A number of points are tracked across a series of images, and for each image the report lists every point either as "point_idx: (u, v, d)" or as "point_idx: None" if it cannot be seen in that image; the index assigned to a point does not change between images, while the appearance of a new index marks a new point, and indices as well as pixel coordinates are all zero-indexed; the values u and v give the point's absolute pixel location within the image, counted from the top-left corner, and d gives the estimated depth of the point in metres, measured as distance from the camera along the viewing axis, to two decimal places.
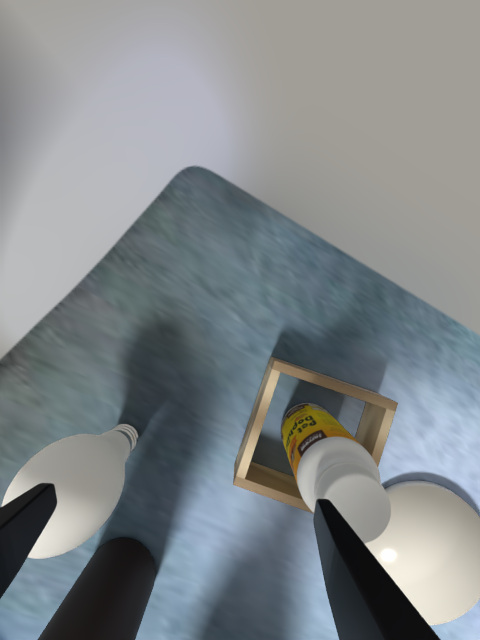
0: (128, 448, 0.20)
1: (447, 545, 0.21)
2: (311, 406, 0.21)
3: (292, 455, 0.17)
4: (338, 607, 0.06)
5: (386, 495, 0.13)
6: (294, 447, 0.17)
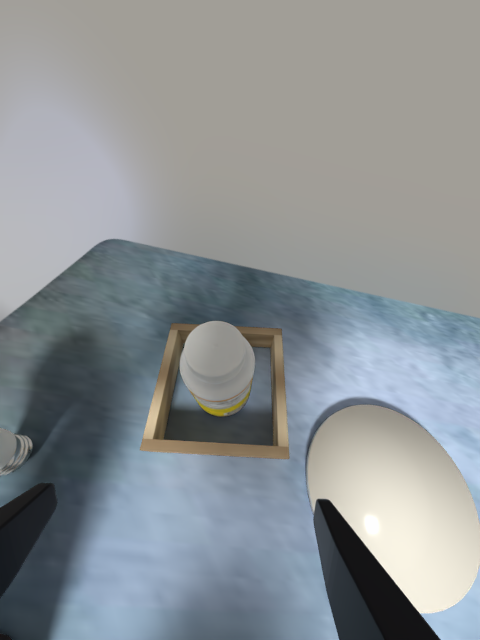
0: (12, 442, 0.17)
1: (405, 466, 0.19)
2: None
3: None
4: (338, 607, 0.06)
5: (236, 329, 0.15)
6: None
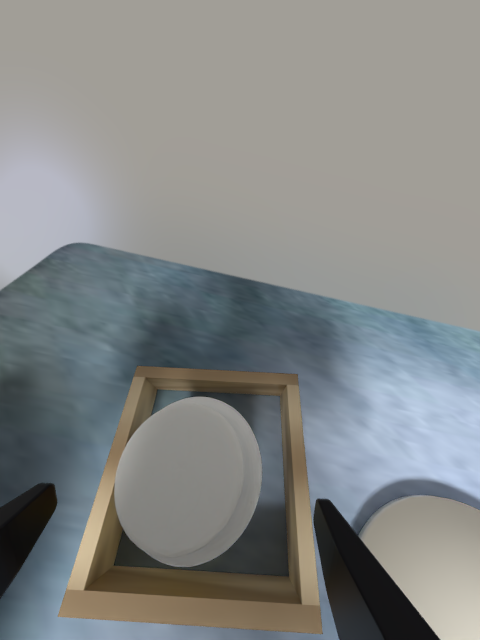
0: None
1: None
2: None
3: None
4: (338, 607, 0.06)
5: (225, 424, 0.07)
6: None
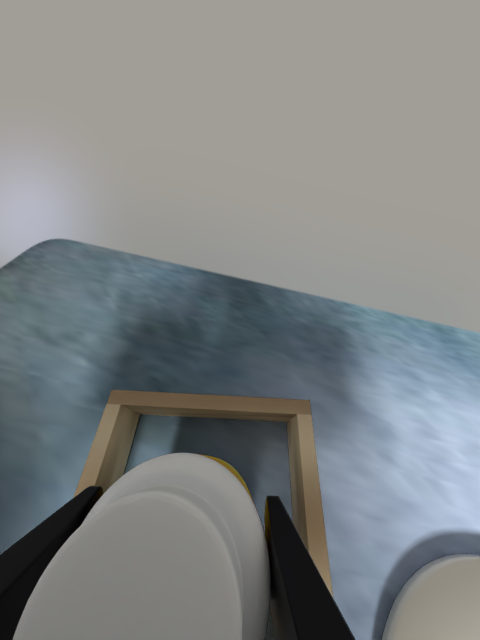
0: None
1: None
2: None
3: None
4: (273, 603, 0.06)
5: (212, 536, 0.04)
6: None
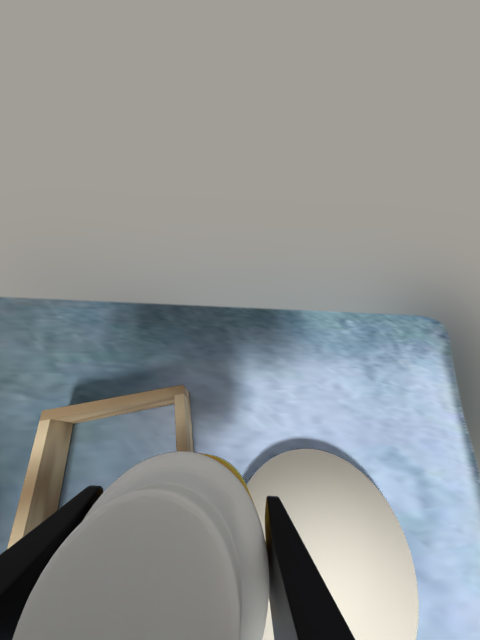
0: None
1: (335, 518, 0.17)
2: None
3: None
4: (273, 603, 0.06)
5: (210, 534, 0.04)
6: None
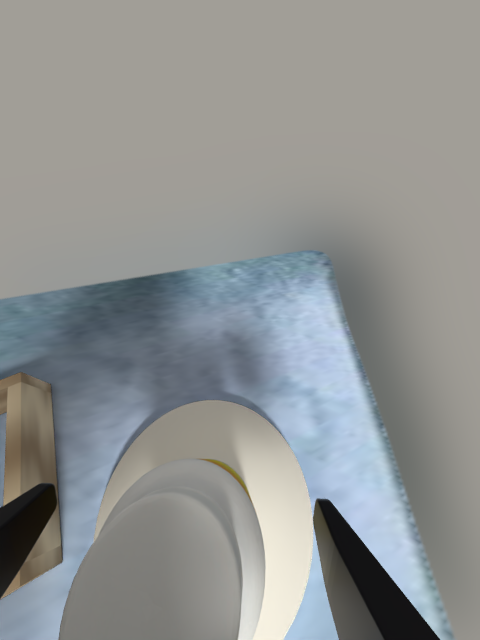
0: None
1: None
2: None
3: None
4: (338, 607, 0.06)
5: (217, 529, 0.06)
6: None
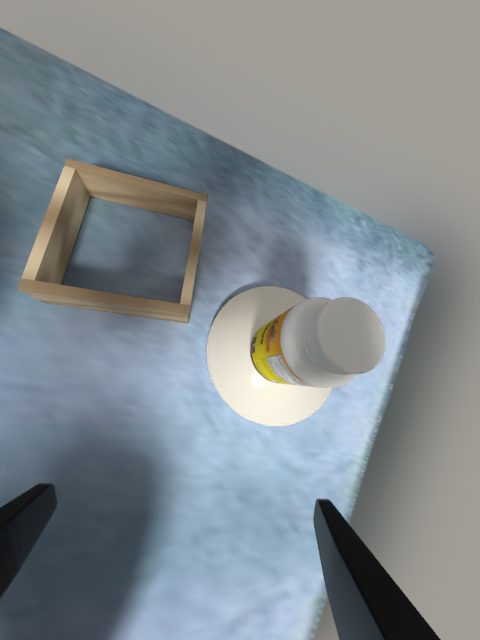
0: None
1: None
2: None
3: (273, 325, 0.15)
4: (338, 607, 0.06)
5: (383, 329, 0.12)
6: (278, 318, 0.15)
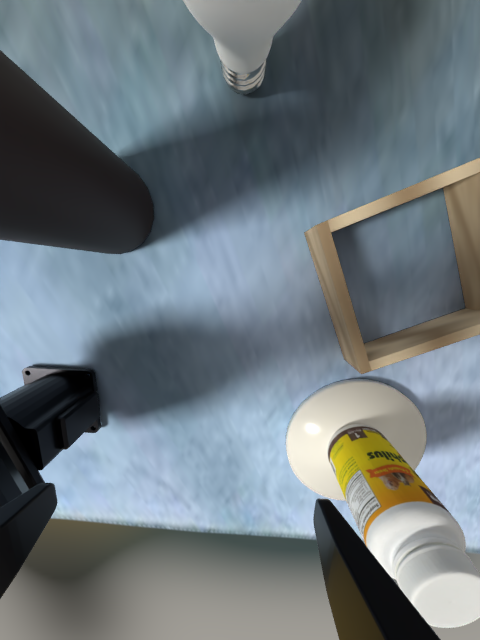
0: (266, 54, 0.13)
1: None
2: None
3: (399, 476, 0.15)
4: (338, 607, 0.06)
5: None
6: (408, 476, 0.15)
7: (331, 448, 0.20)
